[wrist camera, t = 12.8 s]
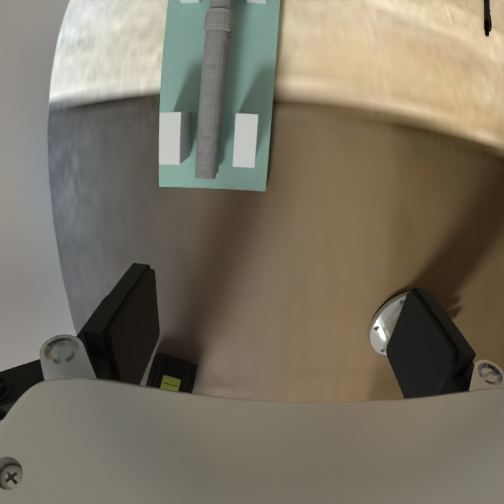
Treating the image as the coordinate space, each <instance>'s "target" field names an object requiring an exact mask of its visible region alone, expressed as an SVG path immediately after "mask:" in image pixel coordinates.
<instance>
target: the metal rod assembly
mask: <svg viewBox="0 0 504 504" xmlns="http://www.w3.org/2000/svg"><path fill="white" fill-rule="evenodd" d="M233 4H234V0H210V6H209V9H208V10H207V11H206V16H205V23H204V31H206V33H205V42H204V52H203V62H202V73H201V85H200V98H199V111H198V127H197V144H196V165H195V178H198V179H215V178H216V174H217V173H218V172H219V158H220V144H221V131H222V119H223V107H224V96H225V85H226V74H227V64H228V55H229V45H230V38H232V34H233V29H234V18H233V17H232V13H233Z"/></svg>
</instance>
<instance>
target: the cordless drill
mask: <svg viewBox="0 0 504 504" xmlns="http://www.w3.org/2000/svg"><path fill="white" fill-rule="evenodd" d="M196 370H197V366H196V365H193V364H191V362H188V361H184V360H181V359H178V358H174V357H171V356H168V355H164V354H162V355H159V354H155V357H154V360H153V363H152V366H151V369H150V373H149V376H148V380H147V383H146V386H148V387H155V388H160V389H166V390H173V391H179V392H186V393H192V390H193V386H194V381H195V375H196Z"/></svg>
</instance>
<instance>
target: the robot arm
mask: <svg viewBox="0 0 504 504" xmlns="http://www.w3.org/2000/svg"><path fill="white" fill-rule="evenodd" d="M159 332H160V329H159V318H158V307H157V295H156V280H155V271H154V269H150V266H149V265H147V264H138V263H133V264H132V265H131V267H130V268H129V269H128V270H127V272H126V273H125V274H124V275H123V277H122V278H121V279H120V281H119V282H118V283H117V285H116V286H115V287H114V288H113V290H112V291H111V292H110V294H109V295H107V296H106V297H105V298H104V299H103V301H102V302H101V303H100V305H99V306H98V307H97V309H96V310H95V311H94V313H93V314H92V316H91V317H90V318H89V320H88V321H87V322H86V324H85V325H84V327H83V328H82V329H81V331H80V332H79V334H78V335H77V336H72V335H65V334H64V335H57V336H55V337H52V338H50V339H49V340H47V341H46V342H45V343H44V344H43V345H42V347H41V349H40V359H39V360H36V361H33V362H30V363H27V364H23V365H20V366H17V367H14V368H11V369H8V370H5V371H1V372H0V504H504V373H503V371H502V370H501V369H500V368H499V367H498V366H497V365H496V364H494V363H492V362H490V361H487V360H481V361H478V362H476V363H475V365H474V364H473V362H472V361H473V359H474V358H475V356H476V354H475V352H474V351H473V349H472V348H471V346H470V345H469V344H468V342H467V341H466V339H465V338H464V336H463V335H462V334H461V332H460V331H459V330H458V328H457V327H456V325H455V323H454V322H453V321H452V320H451V319H450V317H449V316H448V315H447V313H446V312H445V311H444V310H443V308H442V307H441V306H440V304H439V303H438V302H437V300H436V299H435V298H434V297H433V295H432V294H431V293H430V292H429V290H427V289H421V288H413V289H412V290H411V291H408V292H405V293H402V294H400V295H398V296H396V297H394V298H392V299H391V300H390V301H388V302H387V303H386V304H385V305H384V306H382V307H381V308H380V310H379V311H378V312H377V313H376V315H375V316H374V318H373V320H372V322H371V325H370V328H369V339H370V342H371V344H372V346H373V348H374V349H375V350H376V351H377V352H379V353H380V354H383V355H387V357H388V359H389V362H390V364H391V366H392V369H393V371H394V374H395V376H396V378H397V381H398V383H399V386H400V388H401V391H402V393H403V396H404V398H405V399H393V400H378V401H357V402H288V401H267V400H251V399H239V398H228V397H218V396H209V395H201V394H193V393H186V392H179V391H173V390H166V389H160V388H155V387H148V386H142V385H140V383H141V380H142V378H143V375H144V373H145V370H146V368H147V365H148V363H149V360H150V358H151V355H152V353H153V351H154V348H155V346H156V343H157V341H158V338H159Z"/></svg>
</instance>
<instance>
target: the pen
mask: <svg viewBox="0 0 504 504" xmlns="http://www.w3.org/2000/svg"><path fill="white" fill-rule="evenodd" d="M491 28H492V23H491V16H490V3H489V0H484V30H485V35H486V36H489V32H490V31H491Z"/></svg>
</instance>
